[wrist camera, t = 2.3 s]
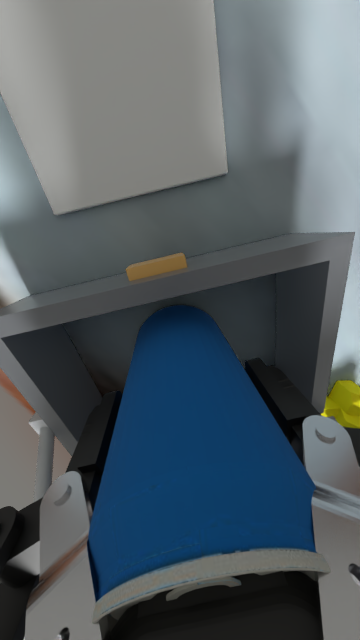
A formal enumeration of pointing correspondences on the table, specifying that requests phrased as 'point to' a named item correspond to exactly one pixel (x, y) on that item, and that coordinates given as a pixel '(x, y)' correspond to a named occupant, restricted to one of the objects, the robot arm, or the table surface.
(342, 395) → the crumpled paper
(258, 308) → the table surface
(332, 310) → the case
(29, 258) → the table surface
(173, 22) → the pad
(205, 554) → the beverage can
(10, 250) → the table surface
